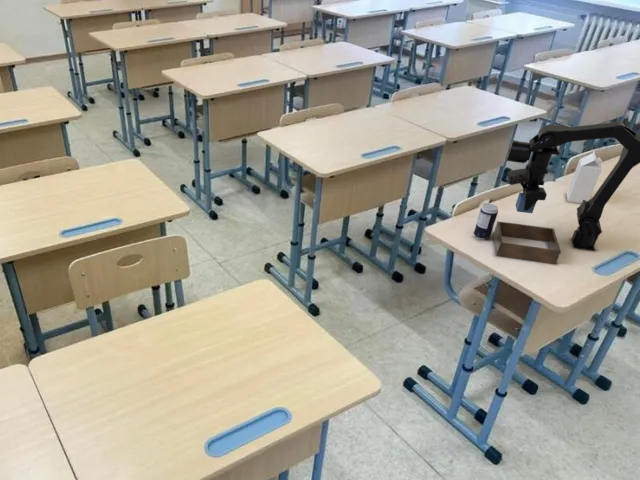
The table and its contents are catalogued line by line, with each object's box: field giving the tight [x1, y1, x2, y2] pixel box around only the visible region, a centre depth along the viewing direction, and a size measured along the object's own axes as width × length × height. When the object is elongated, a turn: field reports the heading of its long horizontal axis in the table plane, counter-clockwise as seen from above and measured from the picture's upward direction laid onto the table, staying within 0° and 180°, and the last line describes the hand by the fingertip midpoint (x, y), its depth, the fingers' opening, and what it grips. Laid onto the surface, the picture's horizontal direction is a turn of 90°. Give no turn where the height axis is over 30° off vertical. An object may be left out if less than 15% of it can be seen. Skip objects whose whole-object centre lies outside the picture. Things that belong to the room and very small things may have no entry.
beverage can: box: [473, 203, 499, 241], centre depth 194 cm, size 6×6×12 cm
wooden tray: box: [493, 220, 561, 265], centre depth 190 cm, size 19×16×5 cm
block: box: [515, 192, 537, 214], centre depth 192 cm, size 5×5×5 cm
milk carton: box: [566, 150, 603, 204], centre depth 214 cm, size 7×7×19 cm
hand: (524, 206), depth 193 cm, fingers closed on block, 5 cm apart
